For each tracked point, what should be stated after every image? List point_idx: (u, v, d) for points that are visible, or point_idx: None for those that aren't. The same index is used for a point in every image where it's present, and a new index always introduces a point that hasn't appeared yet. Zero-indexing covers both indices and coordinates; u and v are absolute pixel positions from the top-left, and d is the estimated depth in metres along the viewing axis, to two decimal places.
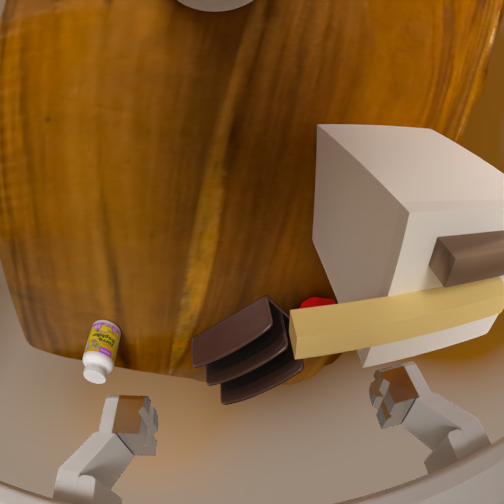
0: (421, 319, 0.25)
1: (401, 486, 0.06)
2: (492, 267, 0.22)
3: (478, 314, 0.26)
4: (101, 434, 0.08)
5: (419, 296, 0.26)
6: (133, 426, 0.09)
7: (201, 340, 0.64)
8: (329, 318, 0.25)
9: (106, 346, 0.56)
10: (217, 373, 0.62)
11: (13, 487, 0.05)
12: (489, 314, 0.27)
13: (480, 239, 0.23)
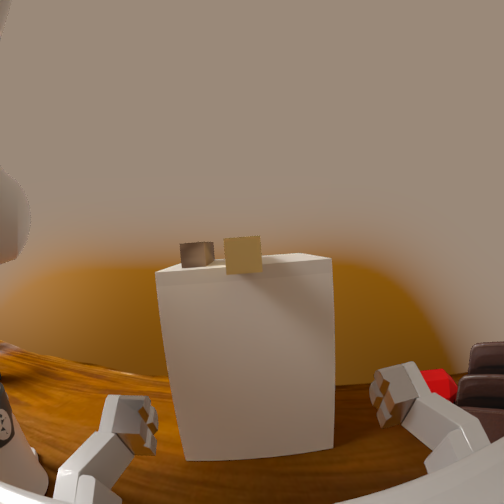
0: None
1: (401, 486, 0.06)
2: None
3: None
4: (101, 434, 0.08)
5: None
6: (133, 426, 0.08)
7: None
8: None
9: None
10: None
11: (13, 487, 0.05)
12: None
13: None
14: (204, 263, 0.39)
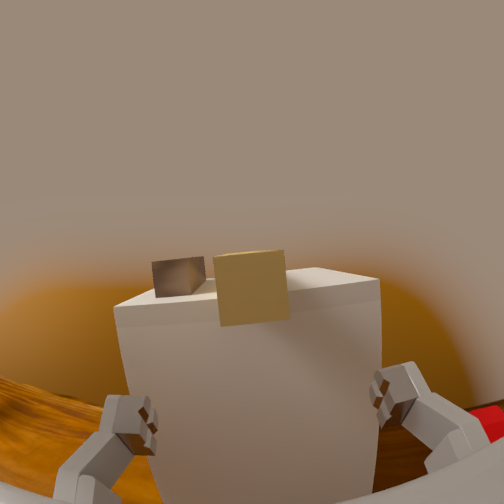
0: None
1: (401, 486, 0.06)
2: (182, 258, 0.31)
3: None
4: (101, 434, 0.08)
5: None
6: (133, 426, 0.09)
7: None
8: None
9: None
10: None
11: (13, 487, 0.05)
12: None
13: None
14: (188, 290, 0.26)
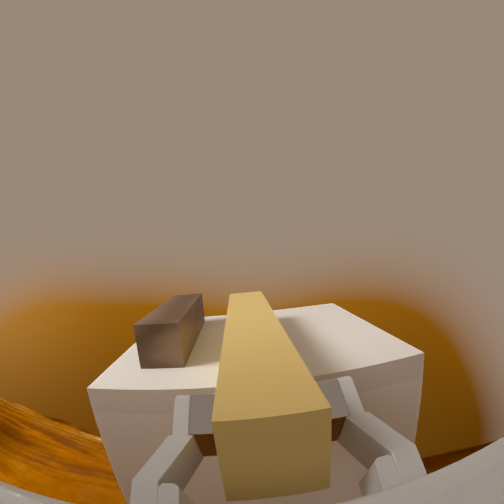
0: (234, 322, 0.18)
1: (401, 486, 0.06)
2: (174, 308, 0.25)
3: (253, 299, 0.27)
4: (177, 437, 0.08)
5: None
6: None
7: None
8: None
9: None
10: None
11: (13, 487, 0.05)
12: (259, 294, 0.29)
13: None
14: (181, 361, 0.19)
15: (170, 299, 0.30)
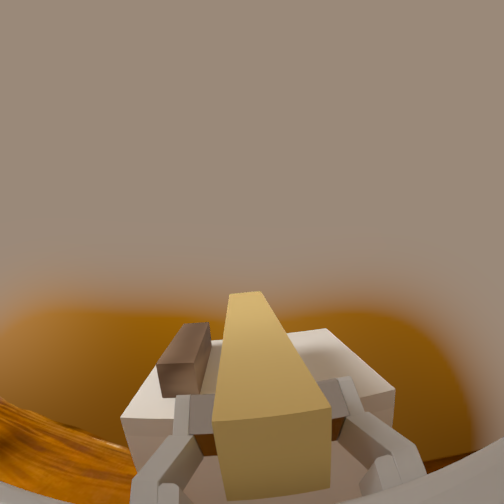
0: (234, 322, 0.18)
1: (401, 486, 0.06)
2: (187, 343, 0.29)
3: (253, 299, 0.27)
4: (177, 437, 0.08)
5: None
6: None
7: None
8: None
9: None
10: None
11: (13, 487, 0.05)
12: (258, 294, 0.29)
13: None
14: (196, 392, 0.23)
15: (181, 329, 0.34)
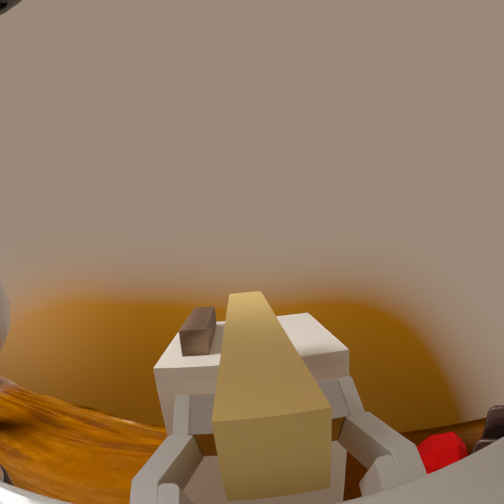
0: (234, 322, 0.18)
1: (401, 486, 0.06)
2: (199, 319, 0.39)
3: (253, 298, 0.27)
4: (177, 437, 0.08)
5: None
6: None
7: None
8: None
9: None
10: None
11: (13, 487, 0.05)
12: (258, 294, 0.29)
13: None
14: (207, 351, 0.34)
15: (193, 311, 0.45)
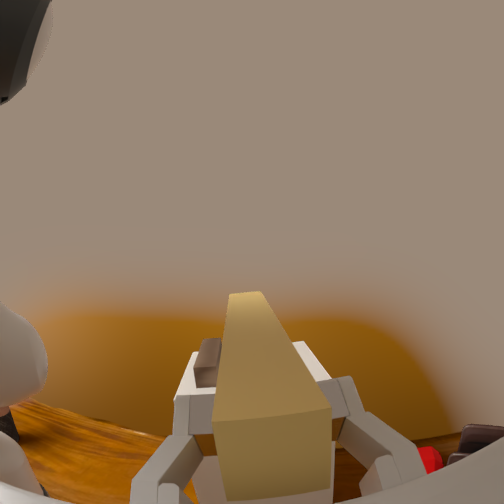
0: (234, 322, 0.18)
1: (401, 486, 0.06)
2: (209, 353, 0.45)
3: (253, 299, 0.27)
4: (177, 437, 0.08)
5: None
6: None
7: None
8: None
9: None
10: None
11: (13, 487, 0.05)
12: (258, 294, 0.29)
13: None
14: None
15: (202, 343, 0.51)
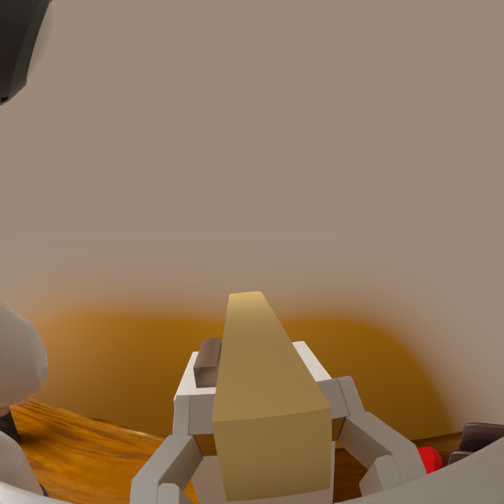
0: (234, 322, 0.18)
1: (401, 486, 0.06)
2: (209, 353, 0.45)
3: (253, 298, 0.27)
4: (177, 437, 0.08)
5: None
6: None
7: None
8: None
9: None
10: None
11: (13, 487, 0.05)
12: (258, 294, 0.29)
13: None
14: None
15: (202, 343, 0.51)
